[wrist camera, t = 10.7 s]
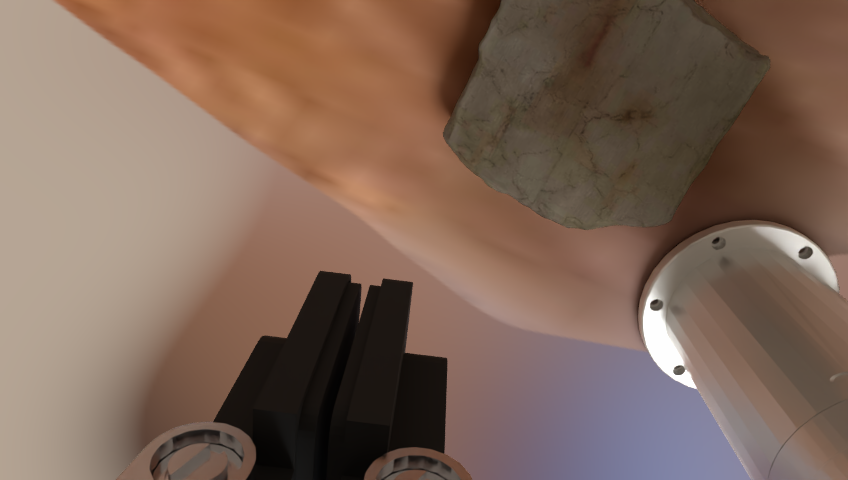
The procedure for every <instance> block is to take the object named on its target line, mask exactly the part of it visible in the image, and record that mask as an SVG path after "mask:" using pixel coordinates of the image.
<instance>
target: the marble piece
mask: <svg viewBox="0 0 848 480" xmlns="http://www.w3.org/2000/svg"><path fill="white" fill-rule="evenodd" d="M478 52H479V59H478V61H477V63H476V65H475V67H474V69H473V70H472V74H471V76H470V78H469V80H468V82H467V84H466V86H465V88H464V90H463V92H462V94H461V96H460V97H459V99H458V101H457V103H456V106H455V108H454V110H453V113H452V115H451V117H450V119H449V121H448V123H447V125H446V126H445V129H444V132H443V137H444V139H445V141H446V142H447V144H448V145H449V146H450V147H451V149H452V150H453V151H454V153H455V154H456V155H457V156H458V157H459V159H460V160H461V162H462V163H463V164H464V165H465V166H466V167H467V168H468V169H470V170H471V171H472V172H473V173H474V174H475V175H477V176H479V177H480V178H482V179H483V180H484V182H485V183H486V184H487V185H488V186H489V187H491V188H493V189H495V190H496V191H498V192H501V193H505V194H509V195H510V196H512V197H513V198H514V199H516V200H517V201H518V202H520V203H521V204H523V205H525V206H527V207H529V208H531V209H532V210H533V211H535V212H536V213H537V214H539V215H540V216H542V217H544V218H547V219H550V220H552V221H554V222H556V223H558V224H561V225H563V226H565V227H567V228H579V229H584V230H589V229H595V228H600V227H607V226H612V225H627V226H635V227H654V226H659V225H663V224H666V223H668V222H669V221H671V219H672V217H673V215H674V214H675V212H676V210H677V207H678V206H679V204H680V202H681V201H682V199H683V197H684V195H685V194H686V192H687V190H688V188H689V187H690V185H691V184H692V183H693V181H694V180H695V179H696V177H697V176H698V175H699V174H700V172H701V171H702V170H703V169H704V167H705V166H706V165H707V163H708V161H709V159H710V157H711V154H712V153H713V151H714V149H715V148H716V146H717V145H718V143H719V142H720V140H721V139H722V138H723V136H724V135H725V134H726V133H727V132H728V130H729V129H730V127H731V126H732V124H733V123H734V121H735V120H736V118H737V117H738V115H739V114H740V112H741V110H742V109H743V107H744V106H745V104H746V102H747V101H748V100H749V99H750V97H751V95H752V93H753V92H754V90H755V88H756V87H757V85H758V84H759V83H760V82H761V80H762V79H763V77H764V75H765V74H766V72H767V71H768V70H769V69H770V59H769V57H768V56H763V55H761V54H760V53H759V52H758V51H757V50H755V49H754V48H752V47H751V46H749V45H747V44H746V43H744V42H742V41H741V40H740V39H739V38H738V37H737V36H736V35H735V34H733V33H732V32H731V31H729V30H728V29H727V28H726V27H725V26H723V25H722V24H721V23H720V22H718V21H717V20H716V19H715V18H713V17H712V16H711V15H710V14H708V13H707V11H706V10H705V9H704V8H703V7H701V6H700V5H698V4H697V3H696V2H695V1H694V0H501V3H500V7H499V10H498V11H497V13H496V14H495V16H494V17H493V19H492V20H491V23H490V26H489V29H488V31H487V33H486V35H485V36H484V38H483V39H482V41H481V42H480V43H479V48H478Z"/></svg>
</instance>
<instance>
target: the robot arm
mask: <svg viewBox="0 0 848 480" xmlns="http://www.w3.org/2000/svg"><path fill="white" fill-rule="evenodd" d="M715 238H716V240H714V239H715ZM713 240H714V241H713ZM412 287H413V282H407V281H399V280H390V279H383V280H382V284H381V286H374V285H370V287H369V291H368V294H367V297H366V301H365V304H364V307H363V311H362V314H361V318H360V321H359V314H360V301H361V284H357V283H351V275H350V274H341V273H333V272H324V271H320V272H319V273H318V275H317V277H316V279H315V281H314V284H313V286H312V288H311V290H310V292H309V294H308V296H307V298H306V300H305V302H304V304H303V306H302V308H301V310H300V312H299V315H298V317H297V319H296V321H295V323H294V325H293V327H292V329H291V331H290V333H289V335H288V337H287V338H280V337H272V336H262V337H261V338H260V340H259V341H258V343H257V345H256V346H255V348H254V350H253V352H252V353H251V355H250V357H249V359H248V361H247V362H246V364H245V366H244V368H243V370H242V371H241V373H240V375H239V377H238V378H237V380H236V382H235V384H234V386H233V387H232V389H231V391H230V393H229V394H228V396H227V398H226V400H225V402H224V403H223V405H222V407H221V409H220V411H219V412H218V414H217V416H216V418H215V419H214V421H213V422H199V423H190V424H187V425H183V426H179V427H176V428H173V429H171V430H169V431H167V432H165V433H163V434H161V435H160V436H158V437H157V438H156V439H154V440H153V441H152V442H151V443H149V444H148V445H147V446H146V447H145V448H144V450H142V451H141V452H140V454H139V455H138V456H137V457H136V458H135V459H134V460H133V461H132V462H131V464H129V466H128V467H127V468H126V469H125V470H124V471H123V472H122V473H121V474H120V475H119V476H118V478H117V479H116V480H472V478H471V476H470V474H469V473H468V472H467V471H466V470H465V468H464V467H463V466H462V465H461V464H460V463H459V462H457V461H456V460H454V459H453V458H451V457H449V456H448V455H446V454H444V448H445V447H444V446H445V417H446V388H447V358H442V357H434V356H426V355H417V354H410V353H405V348H406V339H407V330H408V322H409V313H410V305H411V296H412ZM653 300H654V301H653ZM651 301H652V302H651ZM638 322H639V330H640V334H641V337H642V340H643V342H644V345H645V347H646V349H647V351H648V352H649V354H650V356H651V358H652V359H653V360H654V362H655V363H656V364H657V365H658V367H659V368H660V369H661V370H662V371H663V372H664V373H666V374H667V375H668V376H670V377H671V378H672V379H674V380H676V381H678V382H680V383H682V384H684V385H686V386H688V387H692V388H695V389H698V391H699V392H700V394H701V396H702V398H703V399H704V401H705V403H706V404H707V406H708V408H709V409H710V411H711V413H712V414H713V416H714V418H715V420H716V421H717V423H718V425H719V426H720V428H721V430H722V431H723V433H724V435H725V436H726V438H727V440H728V441H729V443H730V445H731V446H732V448H733V450H734V451H735V453H736V455H737V456H738V458H739V460H740V461H741V463H742V465H743V466H744V468H745V470H746V471H747V473H748V475H749V477H750V478H751V480H848V301H847V300H846V299H845V298H843V297H842V296H841V295H840V294H839V284H838V279H837V275H836V271H835V269H834V268H833V265H832V263H831V262H830V260H829V258H828V257H827V255H826V254H825V253H824V252H823V251H822V250H821V249H820V247H819V246H818V245H816V244H815V243H814V242H813V241H811V240H810V239H809V238H807V237H806V236H805V235H803V234H801V233H799V232H798V231H796V230H794V229H792V228H790V227H788V226H785V225H781V224H778V223H775V222H770V221H761V220H742V221H732V222H728V223H724V224H719V225H715V226H713V227H710V228H708V229H705V230H703V231H700V232H698V233H696V234H694V235H693V236H691V237H689V238H688V239H686V240H684V241H683V242H681V243H680V244H678V245H677V246H676V247H675V248H674V249H673V250H671V251H670V252H669V253H668V254H667V255H666V256H665V257H664V258H663V259H662V260H661V261H660V263H659V264H658V265H657V266H656V268H655V269H654V270H653V272H652V273H651V275H650V277H649V279H648V281H647V282H646V284H645V286H644V289H643V292H642V295H641V298H640V302H639V311H638Z"/></svg>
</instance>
